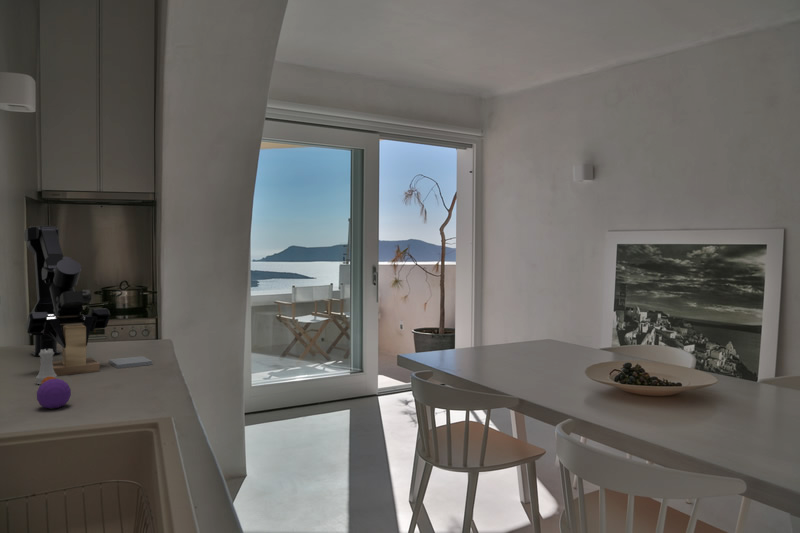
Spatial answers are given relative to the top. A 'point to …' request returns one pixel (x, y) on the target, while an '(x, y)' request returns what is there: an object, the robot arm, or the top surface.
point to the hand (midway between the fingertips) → (75, 345)
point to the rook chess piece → (45, 365)
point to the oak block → (74, 345)
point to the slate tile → (130, 362)
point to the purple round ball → (53, 393)
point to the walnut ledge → (76, 367)
